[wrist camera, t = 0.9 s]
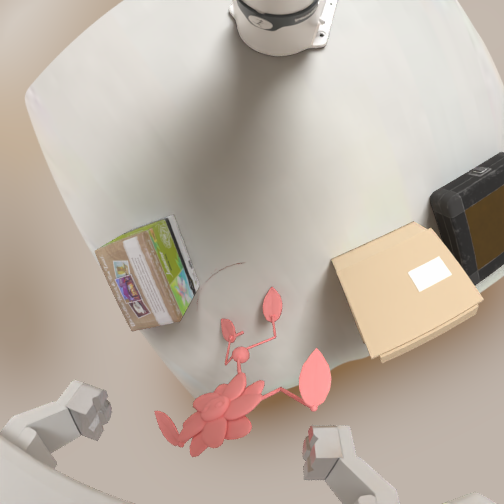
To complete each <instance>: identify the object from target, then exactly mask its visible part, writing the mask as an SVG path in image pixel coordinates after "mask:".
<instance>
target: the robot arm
mask: <svg viewBox="0 0 504 504" xmlns="http://www.w3.org/2000/svg"><path fill="white" fill-rule="evenodd" d="M232 1H233V3H232V4H231V5H230V6H229V12H230V14H231V15H232V16H233V18H234V19H235V20H236V24H237V30H238V33H239V35H240V37H241V39H242V40H243V41H244V42H245V43H246V44H247V45H248V46H249V47H250V48H252V49H254V50H255V51H258V52H260V53H263V54H266V55H271V56H287V55H292V54H296V53H298V52H301V51H303V50H305V49H308V48H321V47H324V46H325V45H326V44H327V40H328V36H329V32H330V29H331V25H332V21H333V17H334V13H335V9H336V5H337V1H338V0H232ZM319 35H323V36H324V37H320V36H319ZM107 397H108V395H107V392H106V391H105V390H102V389H100V388H97V387H94V386H92V385H89V384H86V383H84V382H81V381H78V380H76V379H75V380H73V381H72V382H71V383H70V384H69V386H68V387H67V388H66V389H65V391H64V392H63V393H62V395H61V396H60V397H59V398H58V400H57V401H56V402H50V403H47V404H45V405H42V406H40V407H37V408H35V409H32V410H29V411H26V412H24V413H21V414H18V415H15V416H13V417H12V418H11V419H10V421H9V422H8V423H7V424H6V426H5V427H4V428H3V429H2V431H1V432H0V504H134V503H131V502H128V501H126V500H123V499H120V498H117V497H114V496H112V495H109V494H107V493H104V492H102V491H99V490H97V489H95V488H92V487H90V486H88V485H85V484H83V483H81V482H79V481H77V480H74V479H72V478H70V477H69V476H66V475H65V474H63V473H61V472H59V471H57V470H55V467H56V465H57V462H56V460H55V459H54V458H53V456H52V455H51V453H52V452H54V451H56V450H58V449H59V448H61V447H62V446H64V445H66V444H68V443H69V442H71V441H73V440H75V439H76V438H78V437H80V436H81V435H83V436H85V437H88V438H91V439H93V440H96V441H98V439H99V438H100V436H101V434H102V432H103V426H102V425H104V424H106V423H108V421H109V419H110V417H111V413H112V411H111V410H112V408H111V404H110V402H109V401H108V400H107ZM308 433H309V436H307V437H306V438H305V440H304V445H303V459H304V460H305V461H306V462H305V464H304V466H303V470H304V471H303V472H304V480H325V482H326V483H327V485H328V486H329V487H330V488H331V490H332V491H333V492H334V493H335V495H336V496H337V497H338V499H339V500H340V501H341V502H342V504H400V502H399V498H398V494H397V490H396V489H395V488H394V487H393V486H392V485H390V484H389V483H388V482H387V481H386V480H385V479H384V478H383V477H381V476H380V475H379V474H378V473H377V472H376V471H375V470H374V469H372V468H371V467H370V466H369V465H368V464H367V463H366V462H365V461H364V460H363V459H362V458H360V457H357V456H356V451H355V447H354V442H353V438H352V433H351V429H350V427H349V426H347V425H345V426H335V425H333V426H332V425H330V426H329V425H328V426H314V425H312V426H310V428H309V431H308ZM443 504H497V503H496V502H494V501H493V500H491V499H489V498H488V497H486V496H484V495H482V494H480V493H478V492H473V493H470V494H467V495H464V496H462V497H459V498H457V499H454V500H451V501H449V502H446V503H443Z"/></svg>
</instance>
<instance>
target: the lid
mask: <svg viewBox="0 0 504 504" xmlns="http://www.w3.org/2000/svg"><path fill="white" fill-rule="evenodd" d="M336 273H337V275H338V277H339V280H340V282H341V284H342V287H343V289H344V291H345V294H346V296H347V298H348V301H349V303H350V306H351V308H352V311H353V313H354V315H355V318H356V320H357V323H358V325H359V328H360V330H361V333H362V335H363V338H364V341H365V343H366V346H367V348H368V351H369V354H370V356H371V359H374V358H376V357H378V356H380V359H381V362H382V363H384V362H386V361H388V360H391V359H393V358H395V357H397V356H399V355H401V354H403V353H406V352H408V351H410V350H412V349H414V348H416V347H418V346H420V345H422V344H424V343H426V342H428V341H430V340H432V339H433V338H435V337H437V336H439V335H441V334H443V333H444V332H446V331H448V330H450V329H452V328H453V327H455V326H457V325H458V324H460V323H462V322H464V321H465V320H467V319H468V318H470V317H472V316H473V315H475V314H476V312H477V309H478V307H479V306H478V305H477V304H479V303H481V302H482V301H483V298H482V296H481V295H480V293H479V292H478V290H477V289H476V287H475V286H474V284H473V283H472V281H471V280H470V278H469V277H468V275H467V274H466V273H465V271H464V270H463V268H462V267H461V266H460V264H459V263H458V262H457V260H456V259H455V257H454V256H453V255H452V254H451V252H450V251H449V250H448V248H447V247H446V246H445V244H444V243H443V242H442V241H441V239H440V238H439V237H438V236H437V234H436V233H435V232H434V231H433V230H432V228H429V229H427V230H425V231H423V232H421V233H419V234H417V235H415V236H413V237H411V238H409V239H407V240H405V241H403V242H401V243H399V244H397V245H394V246H392V247H390V248H388V249H386V250H384V251H382V252H380V253H377V254H375V255H373V256H371V257H369V258H367V259H364V260H362V261H360V262H358V263H356V264H353V265H351V266H349V267H347V268H344V269H342V270H340V271H338V272H336Z"/></svg>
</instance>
